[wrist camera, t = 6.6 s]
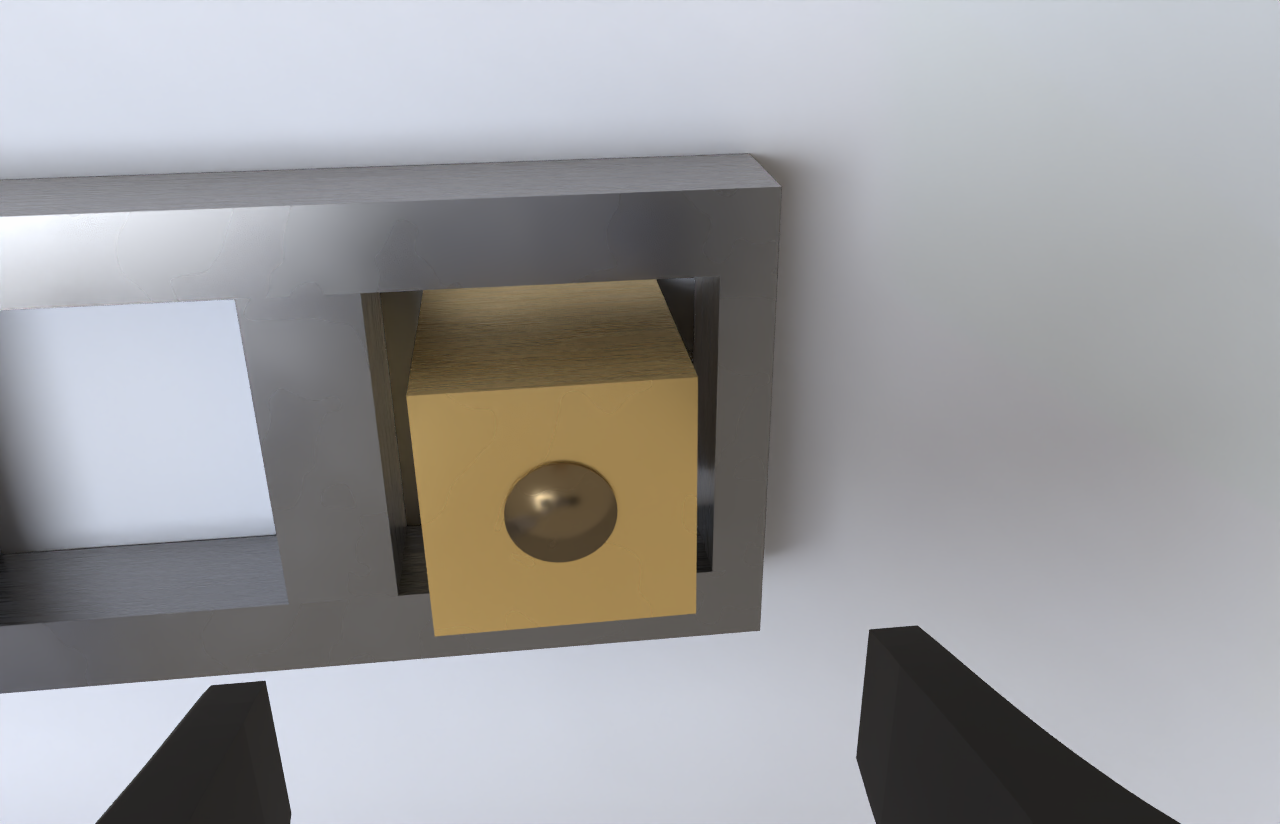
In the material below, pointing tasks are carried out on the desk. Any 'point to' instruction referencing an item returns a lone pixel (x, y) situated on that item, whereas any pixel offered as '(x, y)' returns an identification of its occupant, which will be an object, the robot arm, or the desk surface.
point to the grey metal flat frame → (375, 393)
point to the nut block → (554, 455)
